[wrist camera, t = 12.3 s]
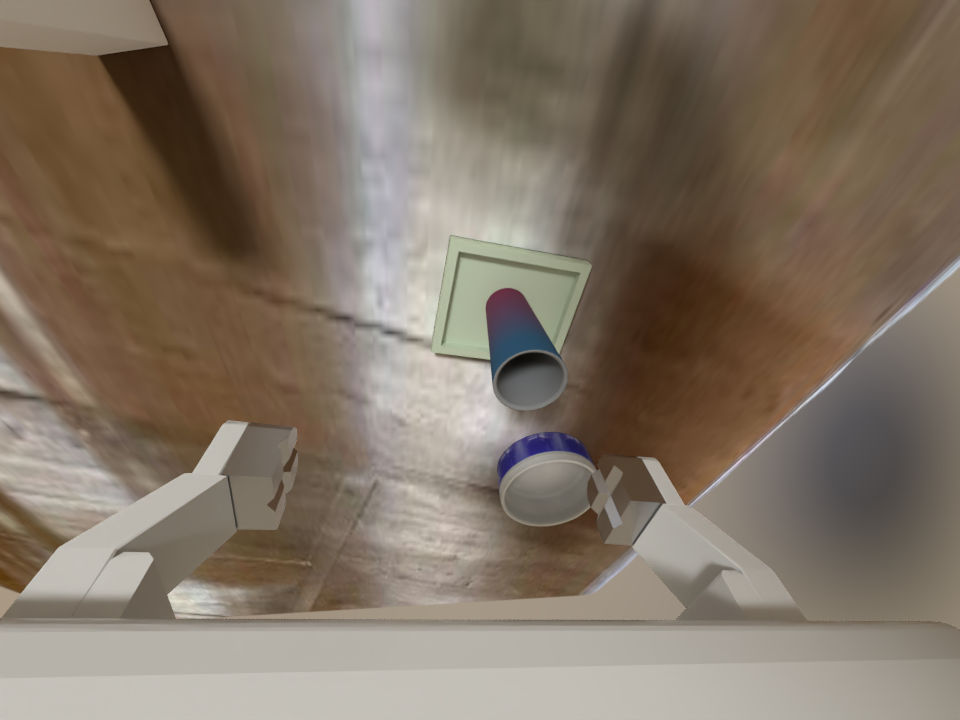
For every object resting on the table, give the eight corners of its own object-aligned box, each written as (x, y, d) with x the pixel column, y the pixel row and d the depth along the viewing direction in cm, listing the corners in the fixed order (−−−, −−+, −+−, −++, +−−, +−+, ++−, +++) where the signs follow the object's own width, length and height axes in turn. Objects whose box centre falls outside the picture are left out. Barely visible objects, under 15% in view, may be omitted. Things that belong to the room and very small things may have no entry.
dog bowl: (484, 445, 63) (488, 476, 58) (582, 419, 62) (595, 448, 57) (508, 504, 71) (513, 536, 66) (594, 482, 70) (606, 512, 65)
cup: (522, 337, 52) (550, 416, 39) (470, 324, 50) (483, 403, 38) (543, 288, 48) (580, 359, 36) (488, 273, 47) (508, 342, 34)
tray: (450, 235, 44) (450, 240, 43) (587, 260, 47) (592, 266, 46) (431, 344, 52) (431, 352, 50) (550, 360, 55) (554, 367, 53)
